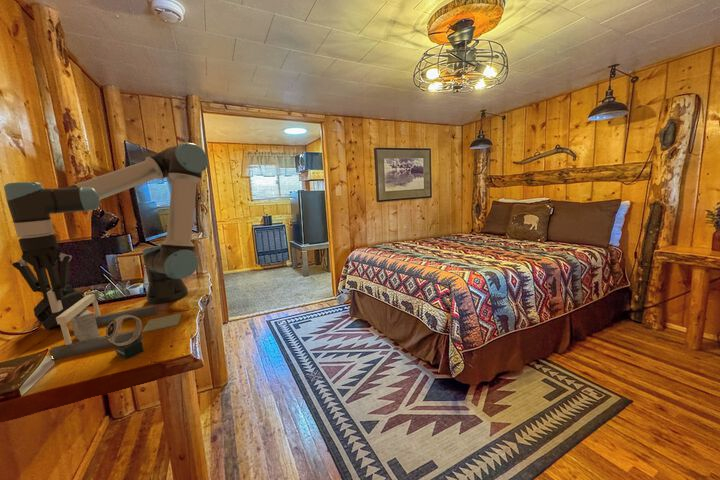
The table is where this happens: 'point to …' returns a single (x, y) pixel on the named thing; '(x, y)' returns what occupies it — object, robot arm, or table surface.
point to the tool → (49, 318)
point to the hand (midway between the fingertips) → (57, 310)
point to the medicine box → (85, 326)
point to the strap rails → (103, 341)
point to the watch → (127, 346)
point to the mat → (162, 322)
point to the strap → (76, 309)
